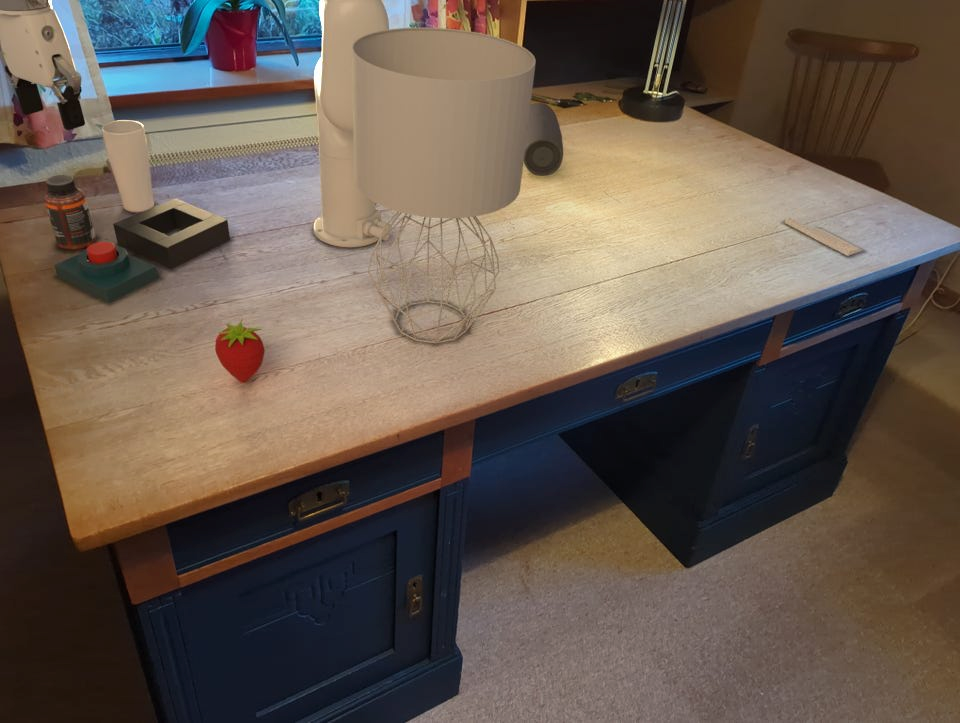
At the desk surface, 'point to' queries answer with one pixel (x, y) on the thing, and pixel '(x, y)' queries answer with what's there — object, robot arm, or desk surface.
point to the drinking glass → (129, 163)
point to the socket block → (171, 251)
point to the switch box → (107, 274)
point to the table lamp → (439, 136)
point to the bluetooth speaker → (543, 141)
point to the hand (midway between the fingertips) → (54, 119)
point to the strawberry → (240, 351)
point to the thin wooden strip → (825, 238)
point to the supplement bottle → (68, 213)
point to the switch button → (101, 252)
